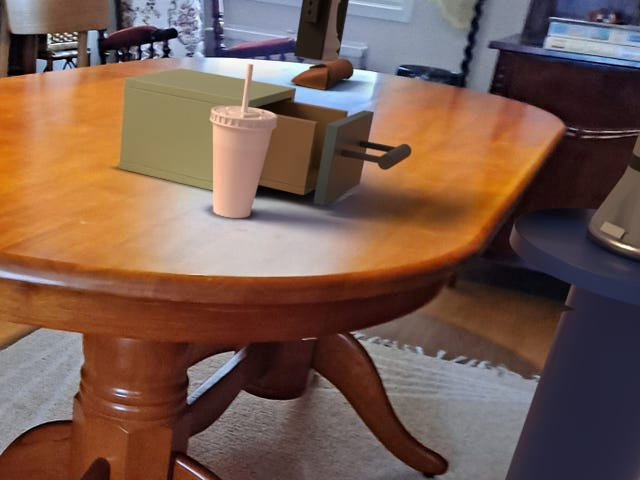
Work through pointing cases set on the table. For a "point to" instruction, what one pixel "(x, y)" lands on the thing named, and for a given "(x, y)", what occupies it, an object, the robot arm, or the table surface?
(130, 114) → the cabinet
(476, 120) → the table surface
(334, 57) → the rook chess piece
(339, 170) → the drawer
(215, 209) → the smoothie
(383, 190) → the table surface
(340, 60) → the sunglasses case
